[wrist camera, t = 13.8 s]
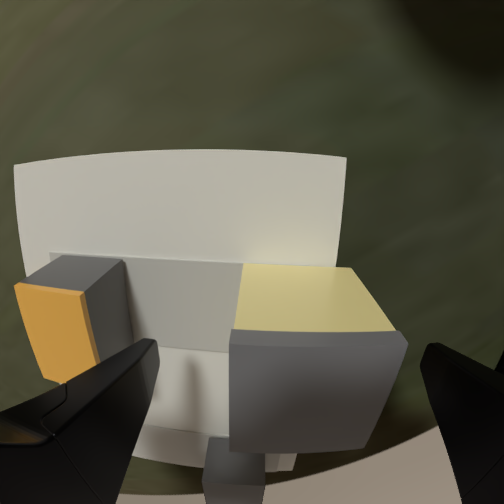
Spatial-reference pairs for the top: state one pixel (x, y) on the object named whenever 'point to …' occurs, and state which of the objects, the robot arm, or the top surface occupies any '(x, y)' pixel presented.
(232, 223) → the panel
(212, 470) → the plain toggle
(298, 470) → the top surface
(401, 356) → the block
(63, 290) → the tagged toggle
